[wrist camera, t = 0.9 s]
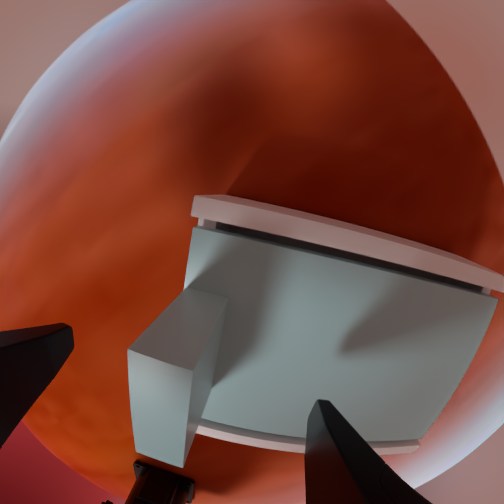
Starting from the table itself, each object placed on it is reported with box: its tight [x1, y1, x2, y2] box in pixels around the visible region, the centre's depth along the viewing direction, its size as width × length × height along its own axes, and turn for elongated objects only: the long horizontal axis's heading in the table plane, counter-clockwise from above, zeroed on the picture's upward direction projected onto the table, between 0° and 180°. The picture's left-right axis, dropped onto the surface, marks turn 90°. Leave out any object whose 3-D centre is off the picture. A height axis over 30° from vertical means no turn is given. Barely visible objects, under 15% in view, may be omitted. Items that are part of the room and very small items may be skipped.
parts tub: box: [191, 194, 504, 455], centre depth 12 cm, size 11×14×5 cm
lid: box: [128, 225, 499, 468], centre depth 8 cm, size 9×14×5 cm, turn 78°
